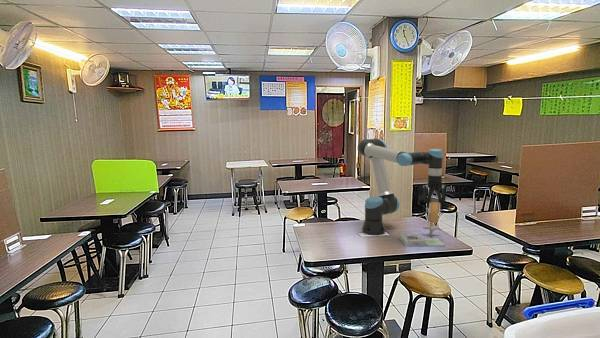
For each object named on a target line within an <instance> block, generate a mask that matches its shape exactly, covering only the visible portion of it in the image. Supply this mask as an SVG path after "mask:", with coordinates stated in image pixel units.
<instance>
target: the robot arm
mask: <svg viewBox="0 0 600 338" xmlns="http://www.w3.org/2000/svg"><path fill="white" fill-rule="evenodd" d="M357 151H358V153H359V154H360V155H361V156H365V157H367V158H368V159H369V161H371V164H372V169H373V173H374V178H375V183H376V187H377V193H378V194H377V196H370V197H368V198H366V199H365V203H364V222H363V225H362V227H361V229H362V232H363V234H366V235H372V236H380V235H384V234H385V233H386V228H385V225H384V222H383V216H384V215H385V216H386V215H390V214H393V213H396V212H397V211H398V209H399V208H400V200H399V198H398V197H397V196H395V193H394V192H393V191H392V190H391V186H390V180H389V176H388V172H387V167H386V163H385V161H388V162H393V163H396V164H398V165H399V166H401V167H408V166H409V167H410V166H414V165H428V175H427V176H428V177H427V178H428V179H427V184H425V185H424V184H422V189H423V191H422V193H423V195H422V197H423V198H422V200H423V201H422V202H424V203H425V204H426V205H425V206H426V209H427V213H428V215H429V214H430V213H431V203H430V199H431V198H432V196H433V193H434V192H435V191H436V197H437V199H439V207H438V215H439V214H441V209H442V208H443V203H445V202H446V194H447V193H446V192H447V191H446V189H447V185H446V184H443V183H442V182H443V176H442V174H443V159H444V156H443V154H444V153H443V149H439V148H430V149H429V150H428V151H418V150H417V151H413V152H406V151H403V150H402V151H401V150H397V149H393V148H389V147H388V145H387V143H386V142H385V140H383V139H381V138H368V139H367V138H364V139H362V140H360V142H358V145H357ZM428 188H429V189H428Z"/></svg>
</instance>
